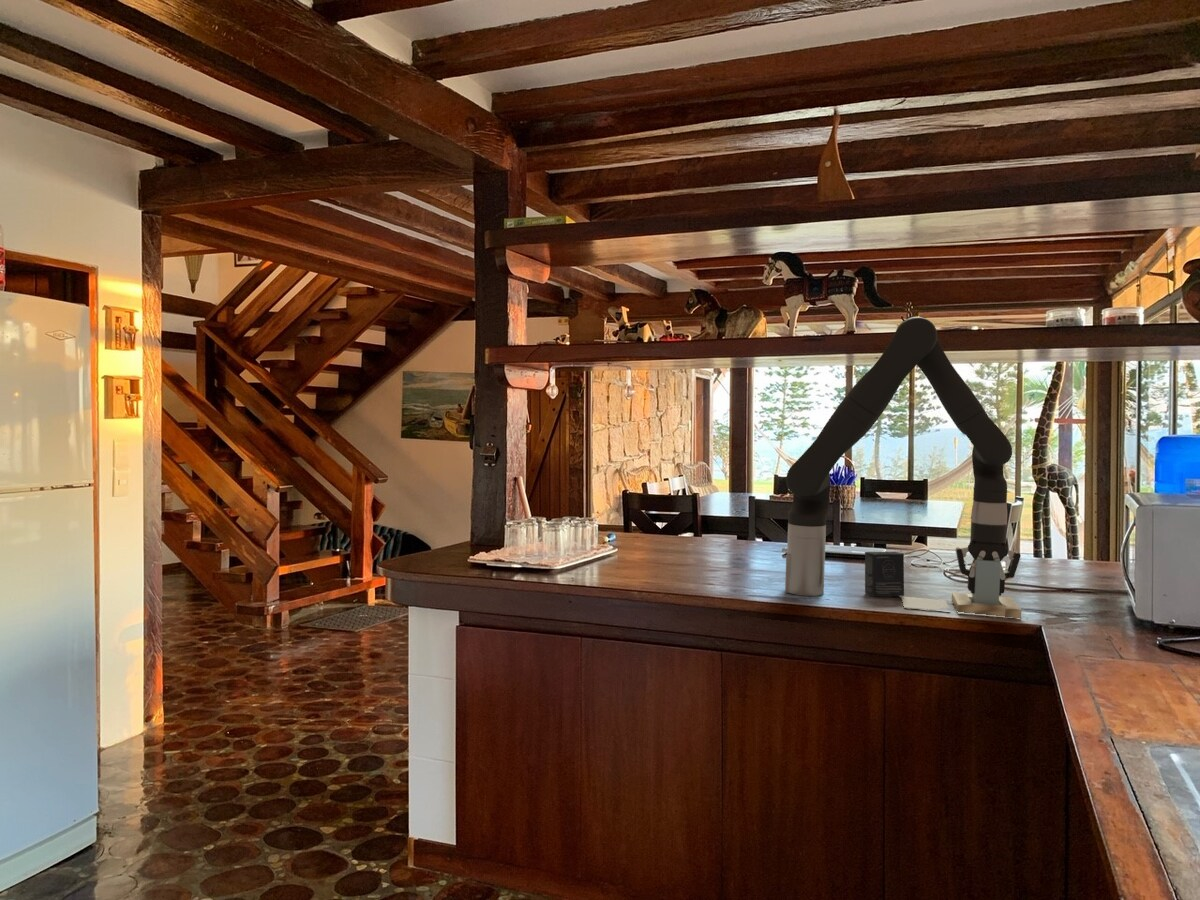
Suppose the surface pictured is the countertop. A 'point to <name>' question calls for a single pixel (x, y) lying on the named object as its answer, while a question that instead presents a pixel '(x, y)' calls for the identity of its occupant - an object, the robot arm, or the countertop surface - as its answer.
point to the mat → (923, 603)
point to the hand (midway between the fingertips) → (985, 593)
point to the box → (884, 573)
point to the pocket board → (986, 606)
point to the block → (987, 582)
